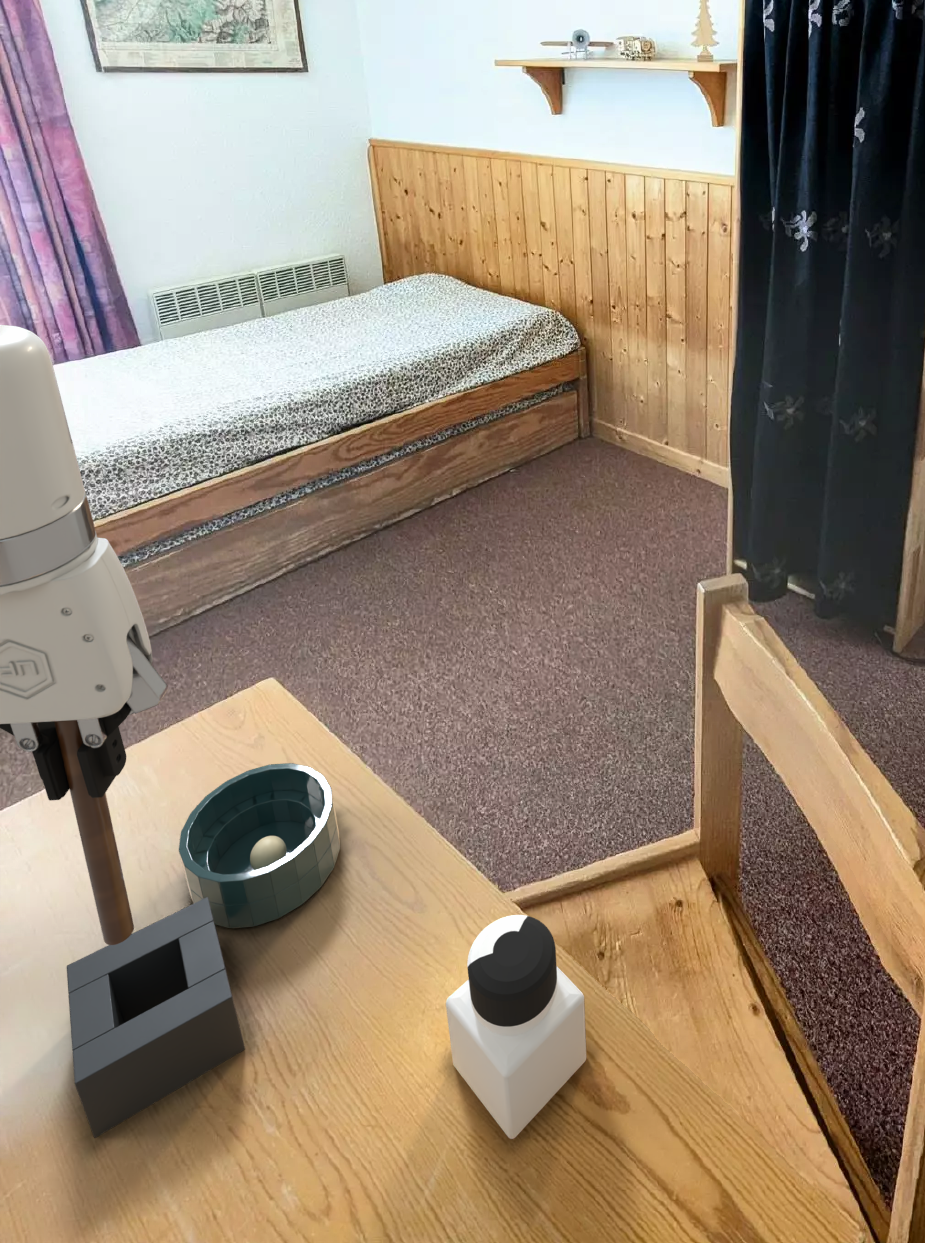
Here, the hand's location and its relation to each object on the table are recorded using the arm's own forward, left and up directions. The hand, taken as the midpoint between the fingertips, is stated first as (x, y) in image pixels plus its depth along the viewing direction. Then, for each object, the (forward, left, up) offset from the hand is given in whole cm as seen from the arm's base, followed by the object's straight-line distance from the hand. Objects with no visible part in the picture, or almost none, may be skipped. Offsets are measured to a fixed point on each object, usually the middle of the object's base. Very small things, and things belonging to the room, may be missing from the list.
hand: (88, 780), depth 56 cm
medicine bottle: (+27, -4, -25) cm, 37 cm away
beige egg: (+4, +13, -23) cm, 27 cm away
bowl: (+3, +14, -25) cm, 29 cm away
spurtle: (0, -1, -13) cm, 13 cm away
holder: (0, 0, -25) cm, 25 cm away
